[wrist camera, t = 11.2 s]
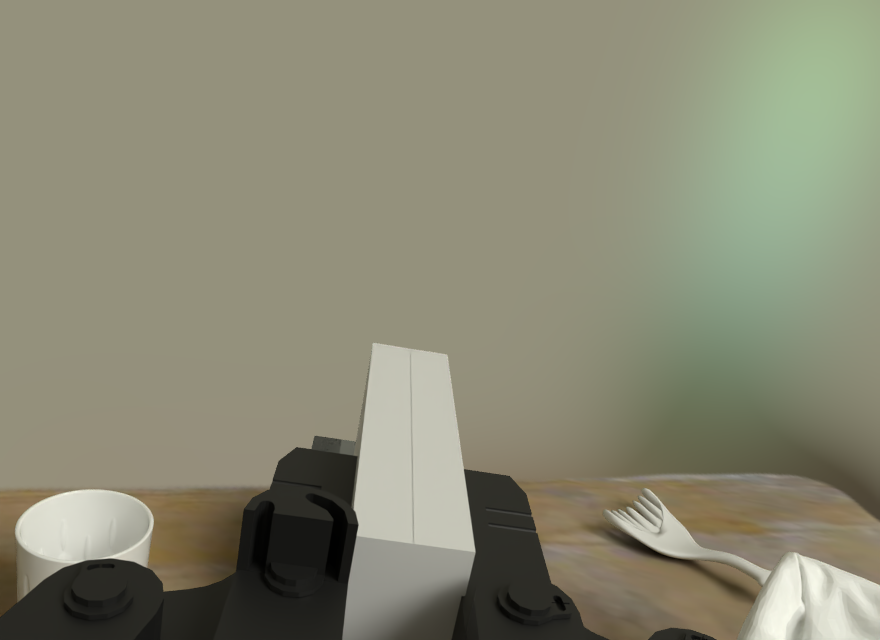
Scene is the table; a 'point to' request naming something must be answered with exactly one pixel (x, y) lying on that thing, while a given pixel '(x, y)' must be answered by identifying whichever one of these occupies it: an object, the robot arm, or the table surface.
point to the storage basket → (813, 604)
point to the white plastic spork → (673, 535)
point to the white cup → (79, 533)
